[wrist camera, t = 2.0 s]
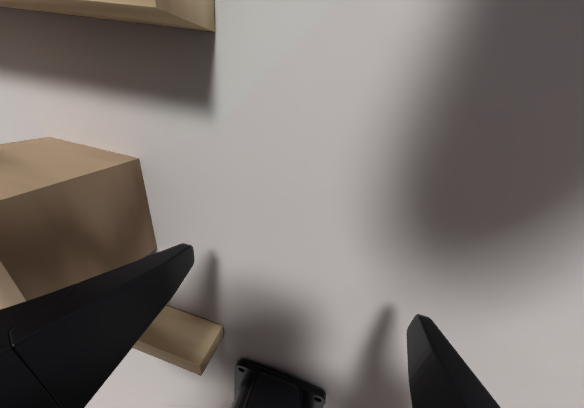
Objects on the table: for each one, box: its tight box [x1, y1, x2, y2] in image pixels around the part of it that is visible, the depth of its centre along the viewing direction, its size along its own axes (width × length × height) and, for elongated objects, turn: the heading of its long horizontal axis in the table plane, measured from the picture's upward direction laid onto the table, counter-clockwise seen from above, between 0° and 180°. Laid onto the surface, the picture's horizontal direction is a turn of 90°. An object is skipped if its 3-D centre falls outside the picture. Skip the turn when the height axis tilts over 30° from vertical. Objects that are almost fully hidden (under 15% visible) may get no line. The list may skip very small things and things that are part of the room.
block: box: [0, 137, 157, 310], centre depth 10 cm, size 6×6×6 cm
